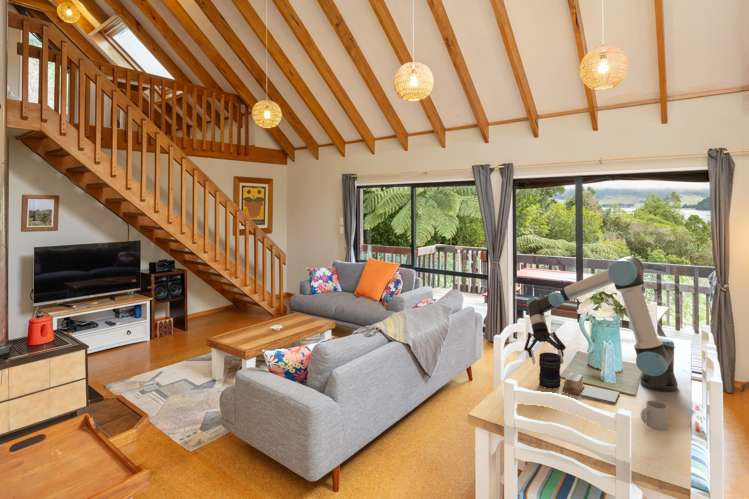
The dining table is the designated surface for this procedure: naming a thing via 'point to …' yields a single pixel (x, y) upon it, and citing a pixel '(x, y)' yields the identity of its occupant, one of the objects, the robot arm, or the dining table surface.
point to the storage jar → (549, 370)
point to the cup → (655, 415)
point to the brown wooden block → (573, 384)
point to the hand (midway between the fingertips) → (548, 363)
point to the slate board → (600, 394)
